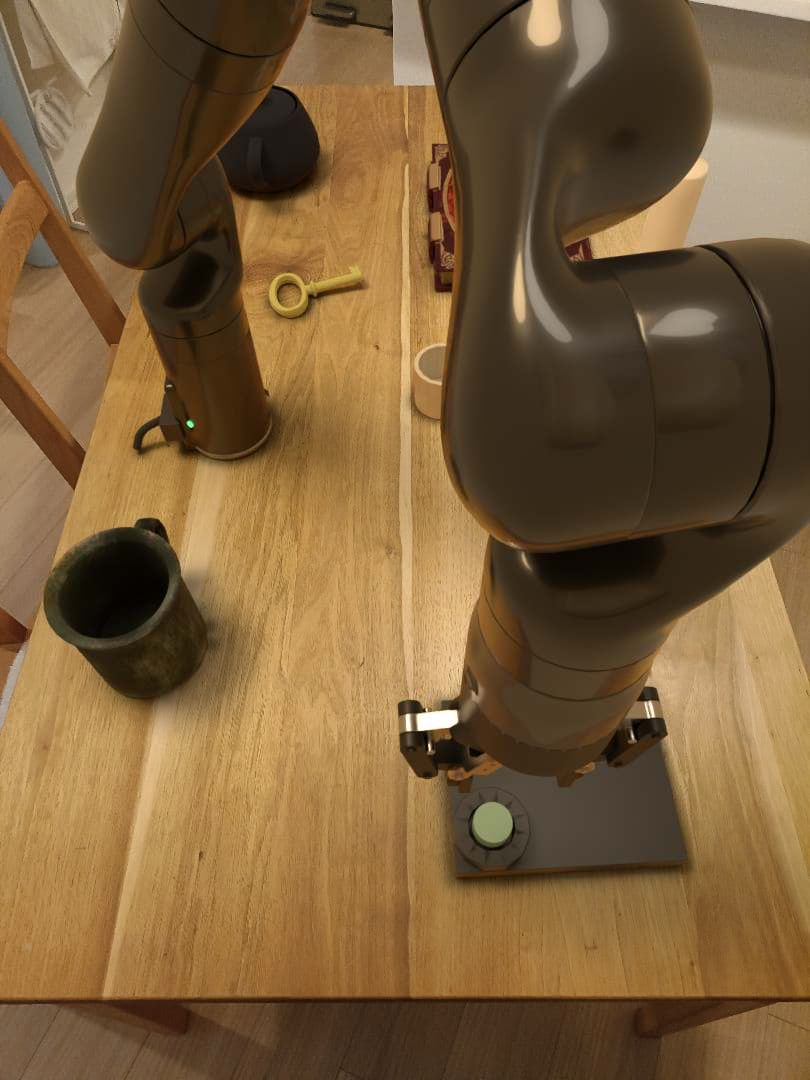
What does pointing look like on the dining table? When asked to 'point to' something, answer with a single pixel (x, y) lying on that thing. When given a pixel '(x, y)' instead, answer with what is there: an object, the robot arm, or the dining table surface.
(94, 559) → the mug
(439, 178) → the book
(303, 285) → the key
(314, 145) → the teapot
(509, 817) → the button
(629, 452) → the robot arm
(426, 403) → the beige cup
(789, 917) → the dining table surface
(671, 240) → the candle
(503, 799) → the scale
